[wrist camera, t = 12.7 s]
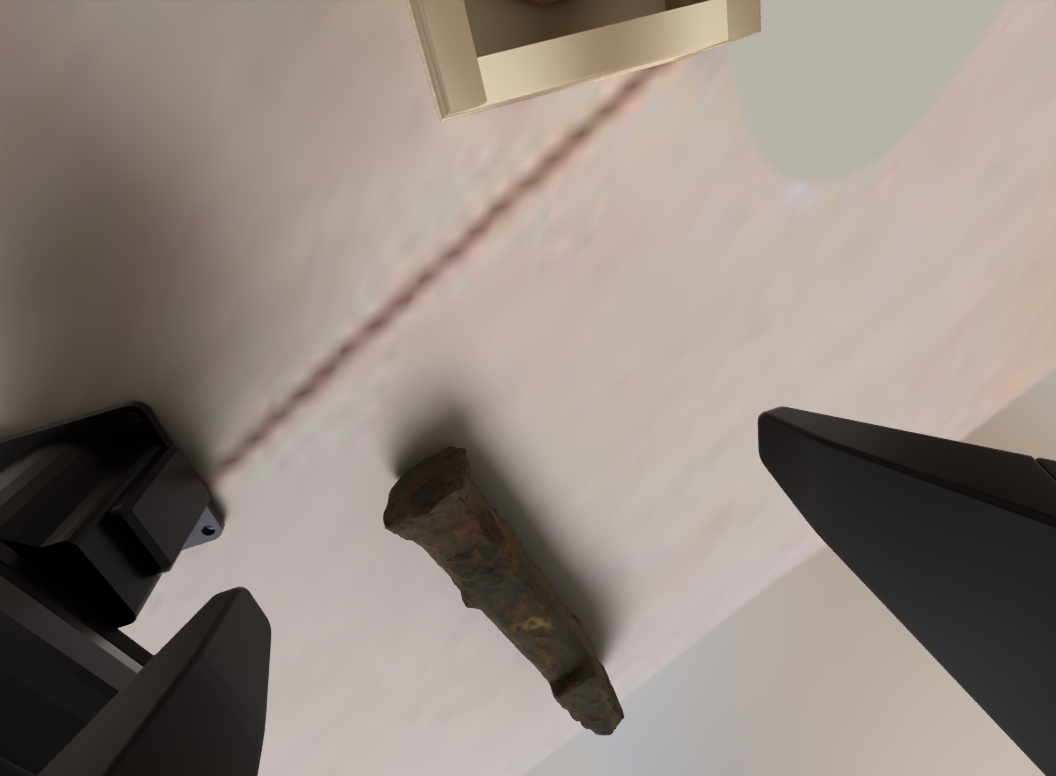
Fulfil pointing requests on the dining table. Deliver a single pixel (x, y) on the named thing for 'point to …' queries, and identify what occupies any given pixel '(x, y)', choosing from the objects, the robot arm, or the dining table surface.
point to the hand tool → (501, 582)
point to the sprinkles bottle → (544, 1)
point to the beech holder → (560, 43)
